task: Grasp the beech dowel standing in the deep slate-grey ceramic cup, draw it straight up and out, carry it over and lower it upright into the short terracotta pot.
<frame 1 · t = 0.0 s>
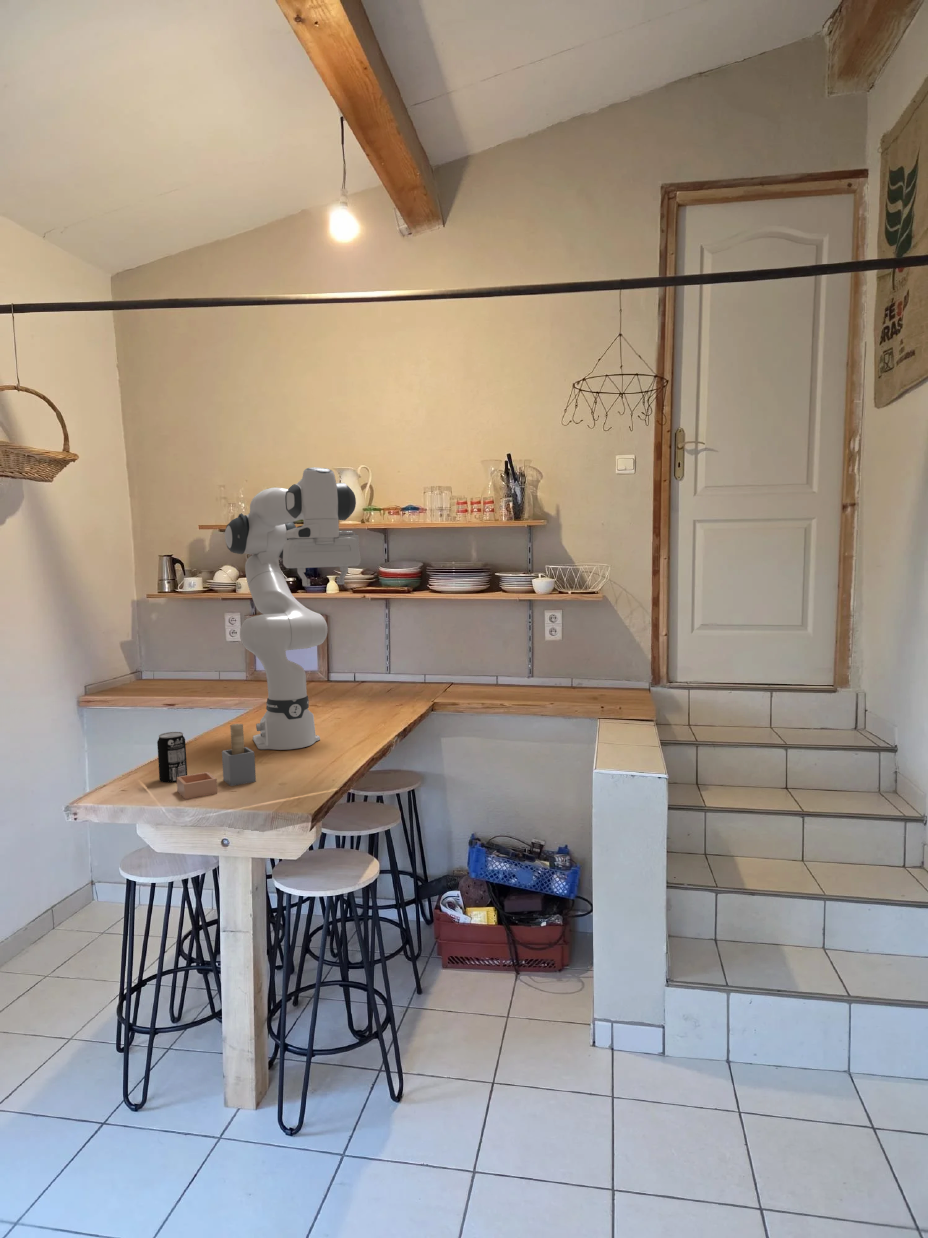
hand: (323, 585, 203), 48 cm above the worktop, fingers open, 8 cm apart
dowel: (239, 780, 195), point 1 cm above the worktop, touching deep cup
deep cup: (239, 783, 195), on the worktop
terracotta pot: (197, 794, 187), on the worktop
beverage can: (173, 782, 198), on the worktop
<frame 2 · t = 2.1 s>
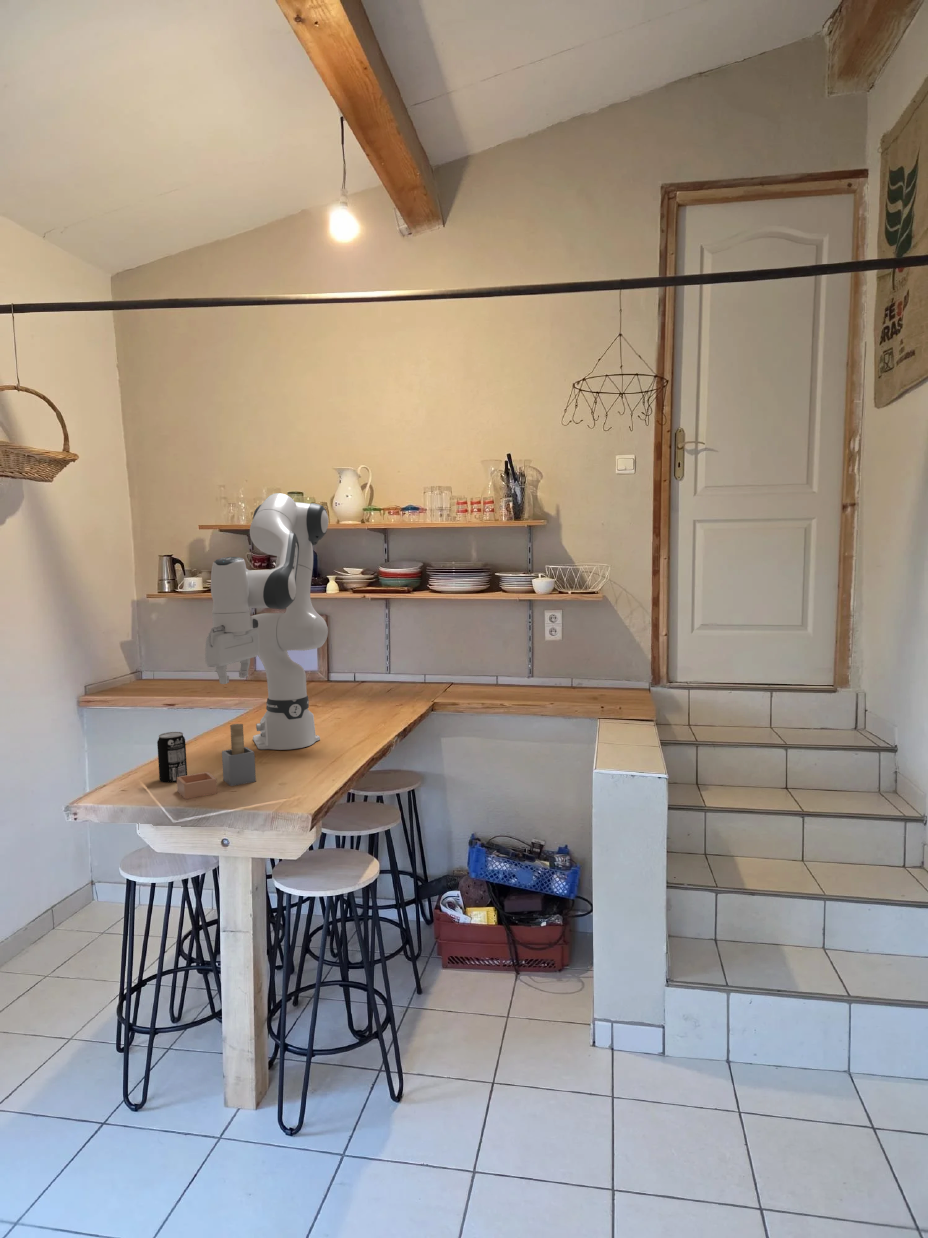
hand: (234, 680, 193), 26 cm above the worktop, fingers open, 8 cm apart
nothing on the worktop moved.
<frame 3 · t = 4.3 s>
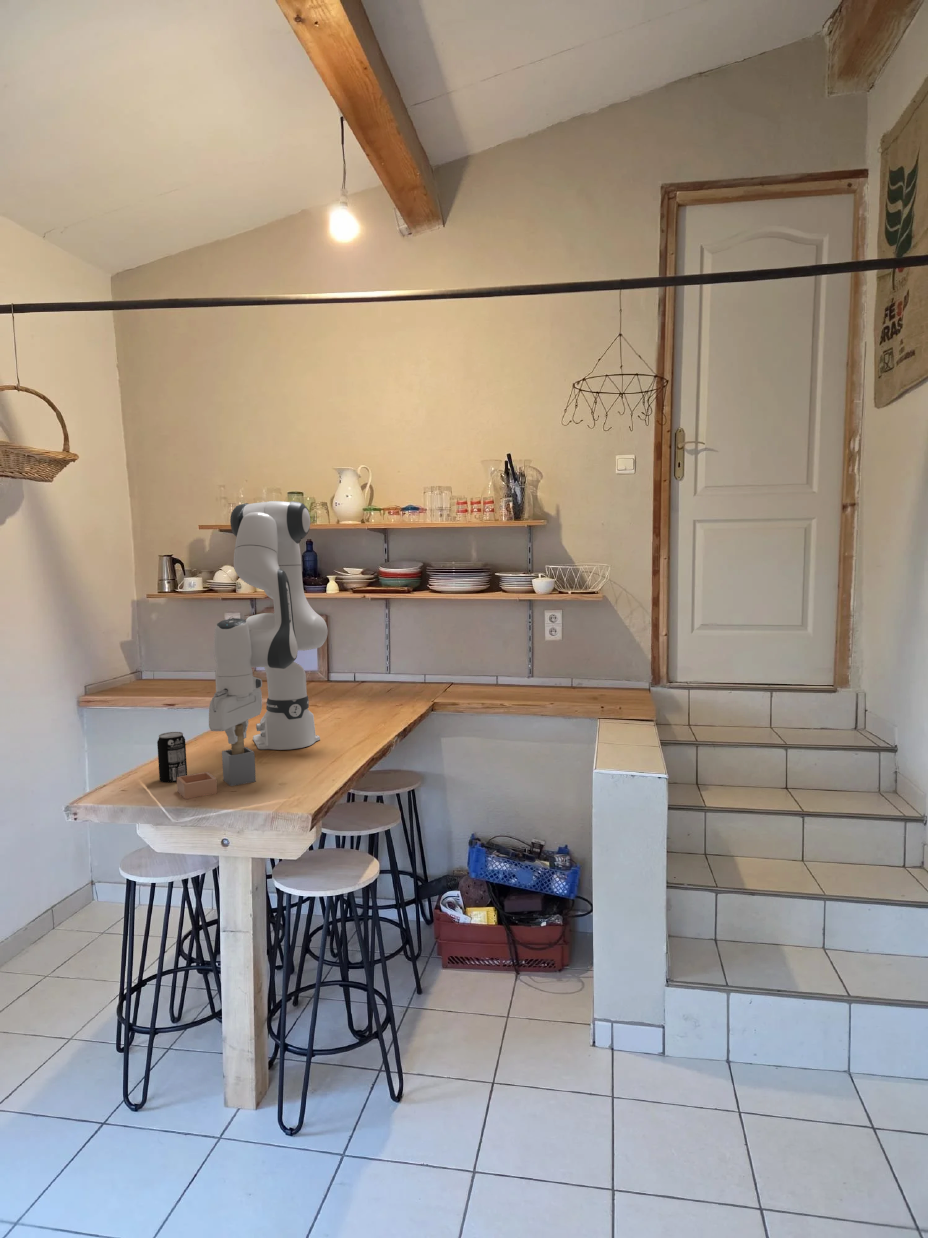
hand: (237, 741, 194), 11 cm above the worktop, fingers closed on dowel, 3 cm apart
dowel: (239, 780, 195), point 1 cm above the worktop, touching deep cup, gripper
everything else where it was.
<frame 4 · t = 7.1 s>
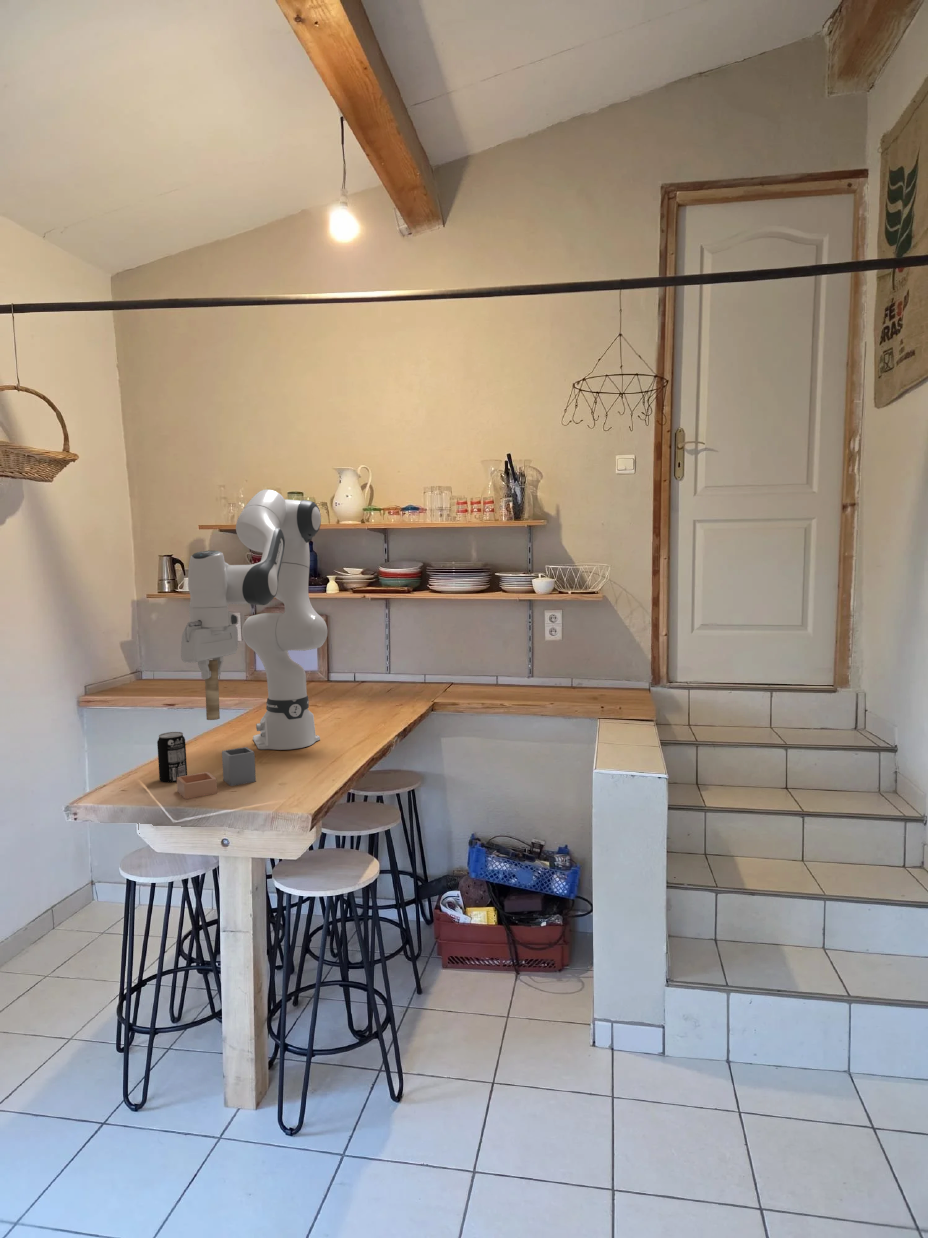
hand: (211, 677, 188), 27 cm above the worktop, fingers closed on dowel, 3 cm apart
dowel: (213, 718, 188), point 17 cm above the worktop, touching gripper
everything else where it was.
when the fingers open (14 cm above the worktop, at t = 10.0 s): dowel drops 3 cm, resting on terracotta pot.
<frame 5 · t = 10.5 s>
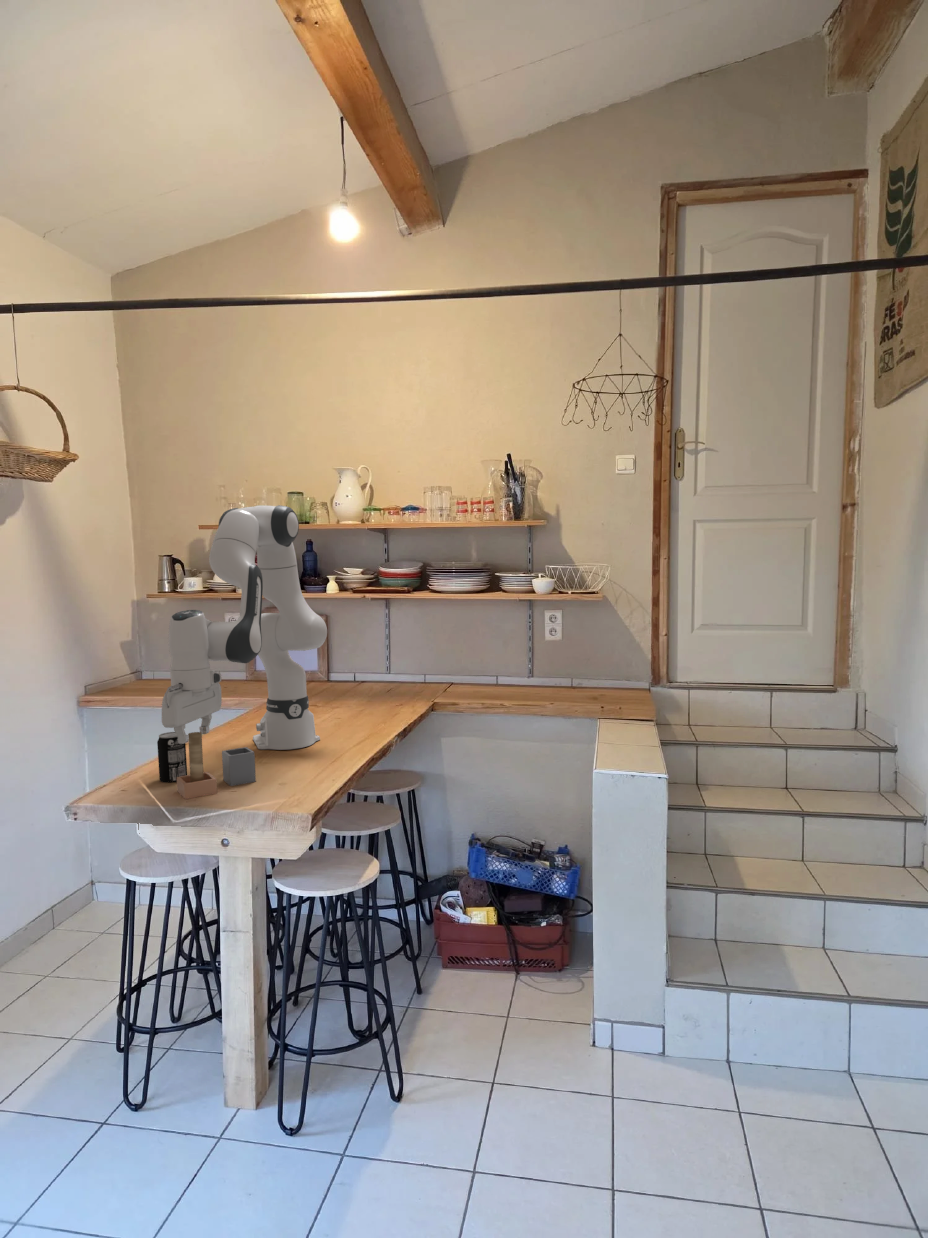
hand: (194, 738, 186), 14 cm above the worktop, fingers open, 8 cm apart
dowel: (197, 791, 187), point 1 cm above the worktop, touching terracotta pot
everything else where it was.
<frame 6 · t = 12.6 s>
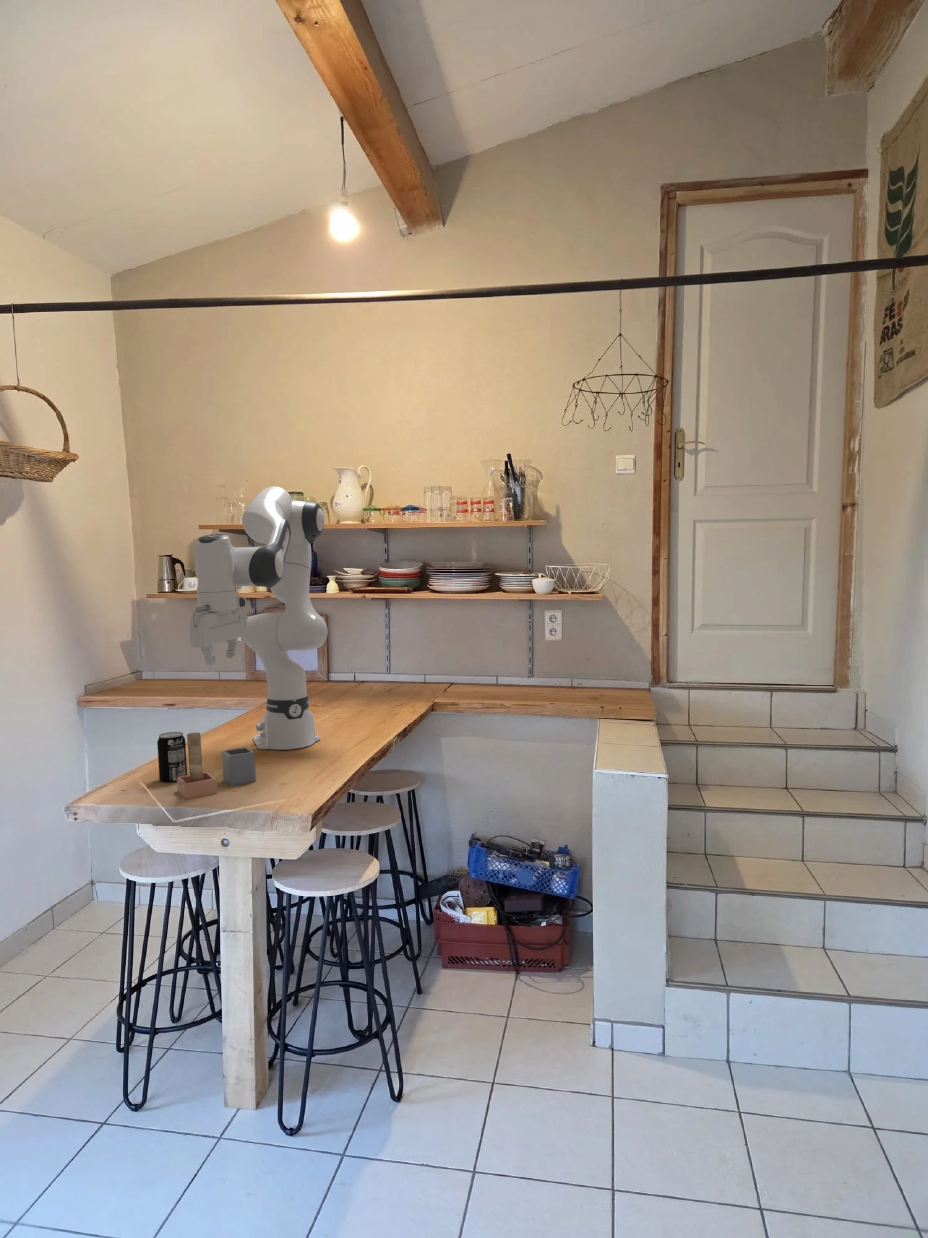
hand: (221, 660, 189), 31 cm above the worktop, fingers open, 8 cm apart
nothing on the worktop moved.
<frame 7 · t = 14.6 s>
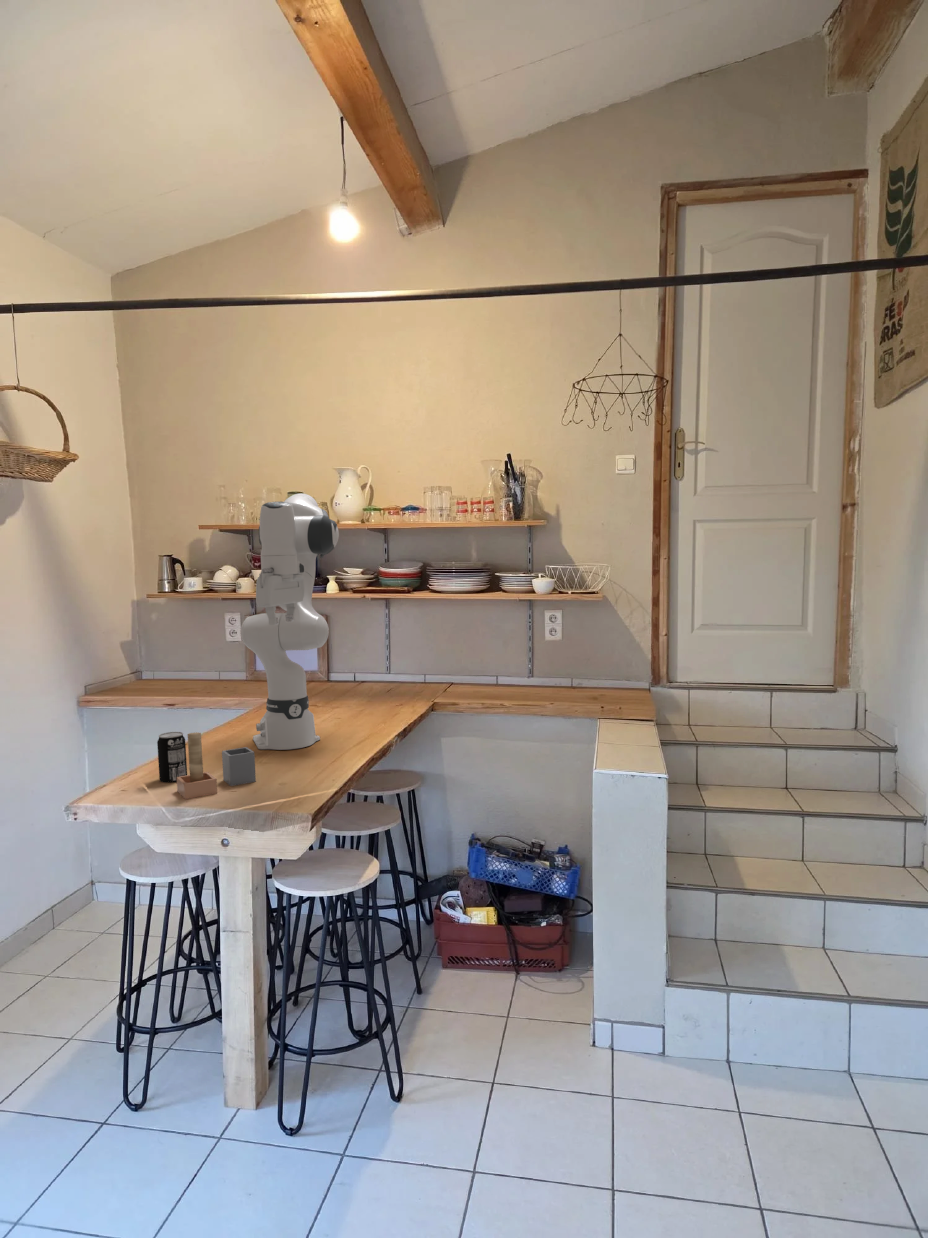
hand: (281, 623, 197), 39 cm above the worktop, fingers open, 8 cm apart
nothing on the worktop moved.
at the end: dowel 0.1 cm off-centre on the terracotta pot, point 0.6 cm above the terracotta pot's base; the gripper is holding nothing; dowel touching terracotta pot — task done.
